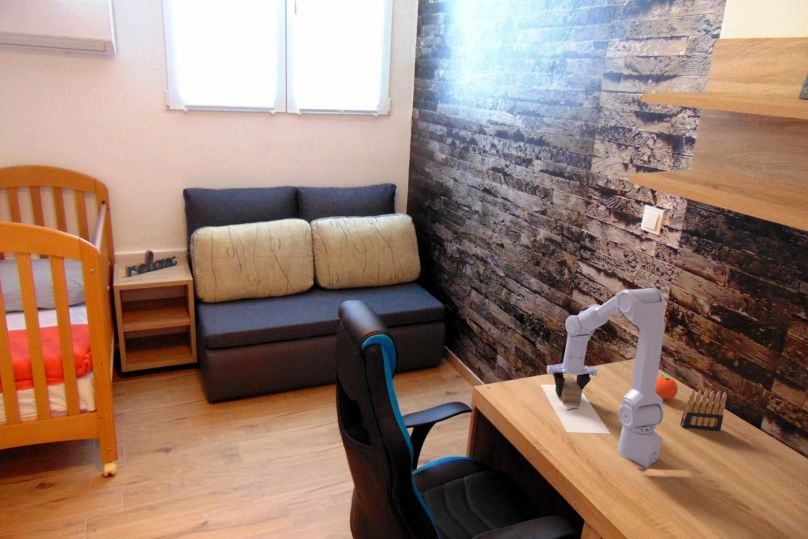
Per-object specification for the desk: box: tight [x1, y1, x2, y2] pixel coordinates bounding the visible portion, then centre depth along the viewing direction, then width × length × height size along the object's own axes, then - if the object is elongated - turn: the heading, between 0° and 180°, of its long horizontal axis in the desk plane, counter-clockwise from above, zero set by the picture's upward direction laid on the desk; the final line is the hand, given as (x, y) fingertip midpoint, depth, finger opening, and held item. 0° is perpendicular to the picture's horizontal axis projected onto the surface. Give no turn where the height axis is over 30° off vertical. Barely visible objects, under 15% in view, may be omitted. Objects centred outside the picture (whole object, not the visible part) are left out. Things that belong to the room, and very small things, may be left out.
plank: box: [539, 384, 611, 435], centre depth 175 cm, size 26×12×1 cm, turn 4°
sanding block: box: [555, 376, 583, 405], centre depth 180 cm, size 8×5×5 cm, turn 4°
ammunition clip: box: [679, 388, 728, 432], centre depth 170 cm, size 11×2×12 cm, turn 88°
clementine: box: [655, 375, 679, 400], centre depth 187 cm, size 8×7×7 cm
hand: (567, 395), depth 180 cm, fingers closed on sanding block, 5 cm apart
